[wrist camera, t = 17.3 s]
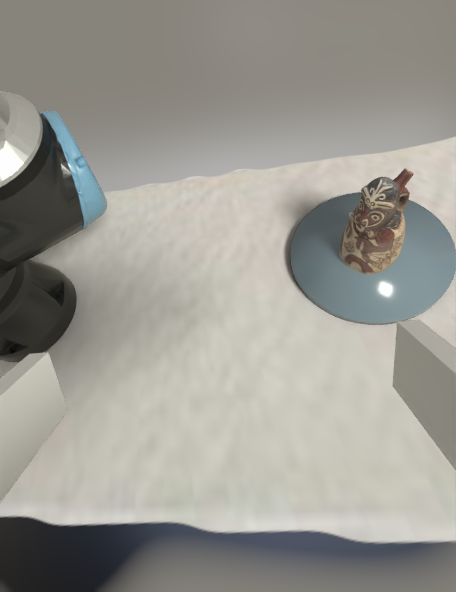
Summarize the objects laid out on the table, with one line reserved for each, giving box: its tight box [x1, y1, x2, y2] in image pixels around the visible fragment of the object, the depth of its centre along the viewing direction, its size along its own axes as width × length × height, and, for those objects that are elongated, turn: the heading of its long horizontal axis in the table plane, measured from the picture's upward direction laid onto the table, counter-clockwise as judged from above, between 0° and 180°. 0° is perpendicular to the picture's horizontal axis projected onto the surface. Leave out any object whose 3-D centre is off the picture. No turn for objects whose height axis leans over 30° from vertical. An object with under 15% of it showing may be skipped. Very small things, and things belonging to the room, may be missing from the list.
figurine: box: [339, 169, 413, 274], centre depth 37 cm, size 7×7×12 cm
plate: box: [290, 192, 456, 325], centre depth 42 cm, size 20×20×1 cm
